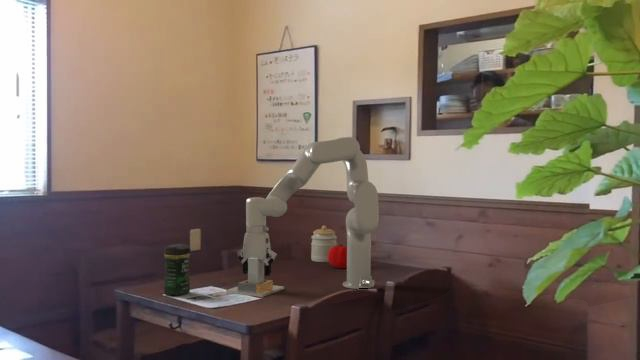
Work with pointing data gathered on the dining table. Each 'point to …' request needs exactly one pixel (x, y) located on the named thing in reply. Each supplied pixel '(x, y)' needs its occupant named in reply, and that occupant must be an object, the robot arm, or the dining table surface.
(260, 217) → the robot arm
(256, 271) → the skincare box
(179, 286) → the coffee jar
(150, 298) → the dining table surface
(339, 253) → the tomato
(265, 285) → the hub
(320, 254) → the jar
